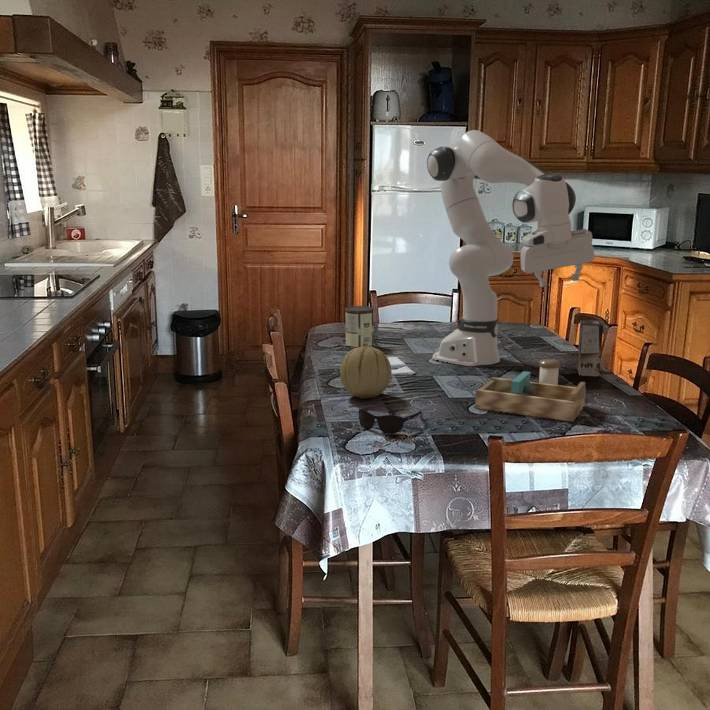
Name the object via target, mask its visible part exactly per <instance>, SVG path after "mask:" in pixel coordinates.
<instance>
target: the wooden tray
mask: <svg viewBox="0 0 710 710" xmlns="http://www.w3.org/2000/svg"><path fill="white" fill-rule="evenodd" d="M513 380H514V379H510V378H504V377H503V378H501V377H494V376H492V377H490V380H489V381H488V382H486V383H485V384H484V385H483V386H482V387H480V388H476V390H475V406H474V408H475V409H478V408H479V409H480V410H487V411H493V410H494V412H501V411H502V413H507V412H508V414H514V413H515V415H522V416H523V415H524V416H529V415H530V417H536V416H537V417H538V418H544V419H551V420H552V419H553V420H559V421H565V422H566V421H567V422H574V421H575V420H576V418H577V417H578V415H579V414H580V413H581V412H582V410H583V409H584V408H585V405H586V389H587V388H586V382H585V381H580V382H579V383H578V384H577V386H570V385H560V384H558V385H553V384H545V383H539V382H535V381H530V387H536V394H535V395H534V394H529V396H527V395H520V394H512V393H511V385H512V381H513ZM583 407H584V408H583ZM580 411H581V412H580Z"/></svg>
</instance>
